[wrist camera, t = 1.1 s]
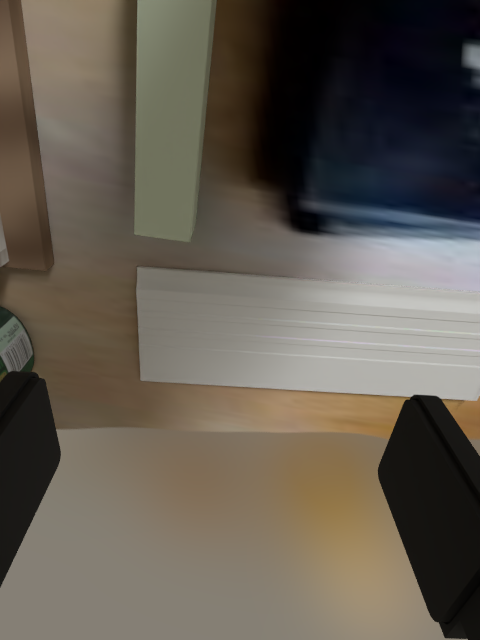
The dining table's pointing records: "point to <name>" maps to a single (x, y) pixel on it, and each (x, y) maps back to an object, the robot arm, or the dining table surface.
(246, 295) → the baseboard molding
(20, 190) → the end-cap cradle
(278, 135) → the dining table surface
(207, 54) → the pale green long block
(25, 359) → the coffee jar
